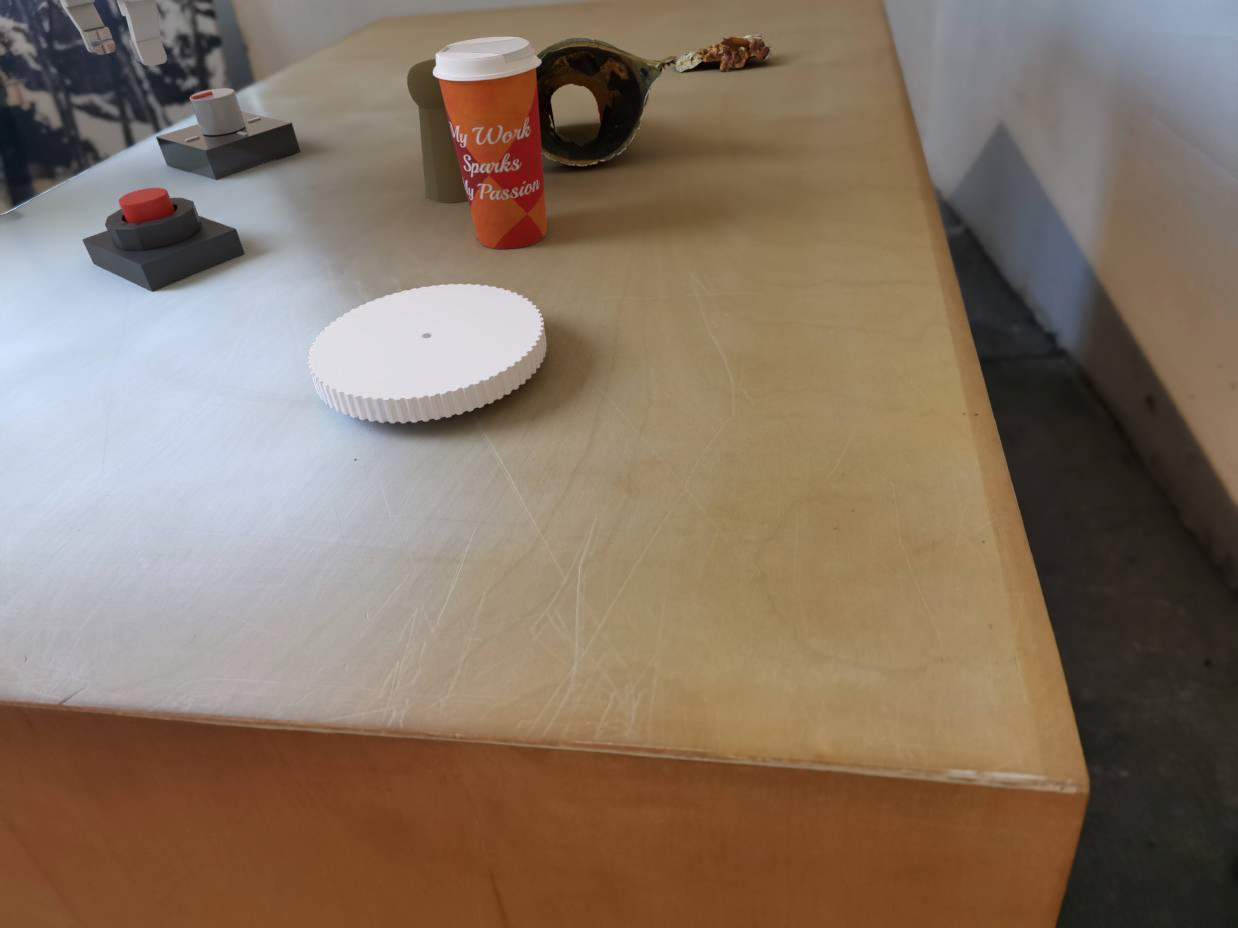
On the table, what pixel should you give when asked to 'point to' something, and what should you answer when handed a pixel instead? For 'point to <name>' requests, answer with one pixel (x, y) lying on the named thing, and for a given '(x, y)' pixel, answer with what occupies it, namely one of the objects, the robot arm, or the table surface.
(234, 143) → the panel
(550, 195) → the table surface
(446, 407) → the plastic lid
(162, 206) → the button
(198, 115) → the burner knob
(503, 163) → the paper cup
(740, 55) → the pastry
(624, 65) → the olive metal hollow piece
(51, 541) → the table surface
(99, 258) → the box
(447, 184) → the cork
